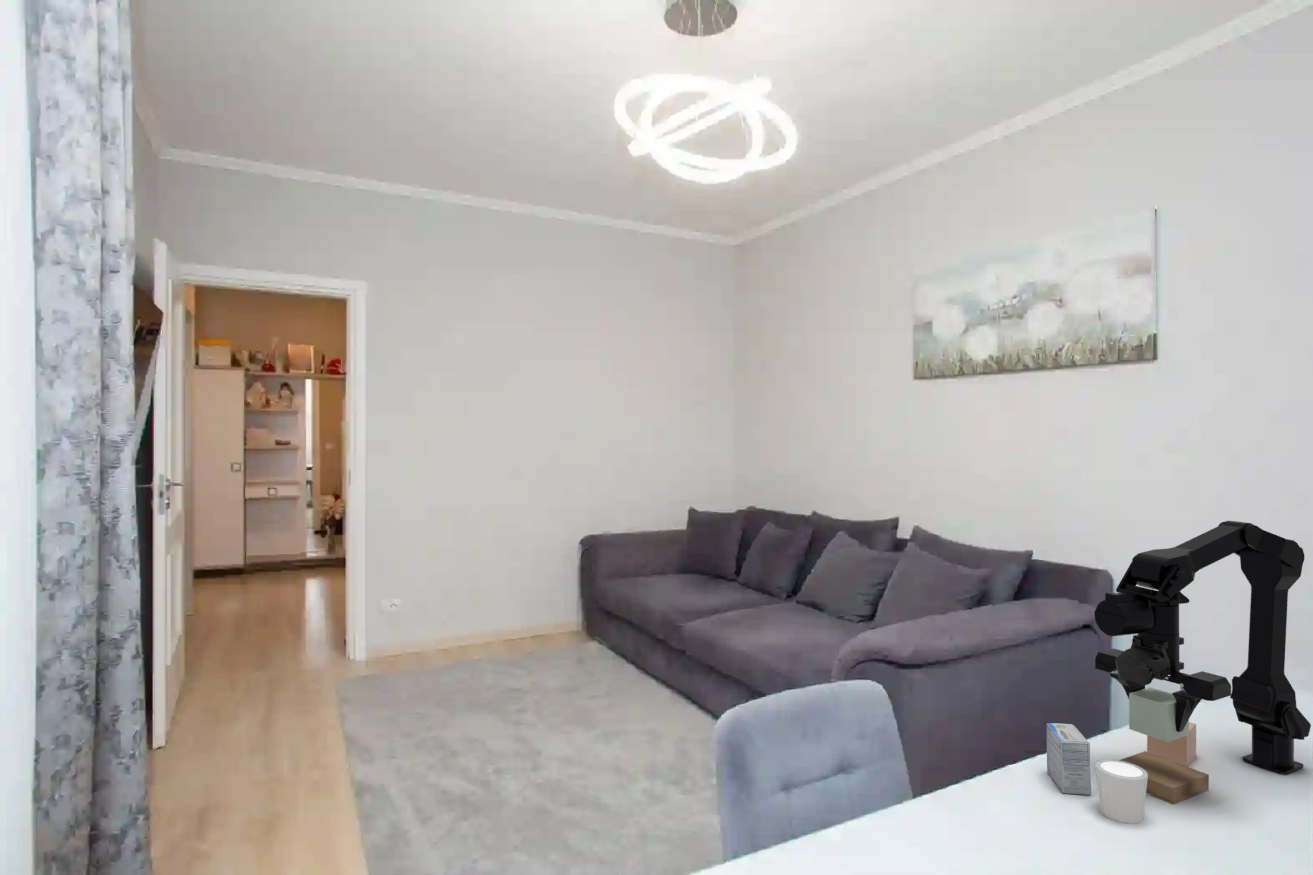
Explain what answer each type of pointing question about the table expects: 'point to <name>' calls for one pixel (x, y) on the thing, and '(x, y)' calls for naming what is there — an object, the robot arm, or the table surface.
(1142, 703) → the sage cube
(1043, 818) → the table surface
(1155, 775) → the walnut block
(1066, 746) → the medicine box
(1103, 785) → the white tapered cylinder
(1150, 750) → the clay cube
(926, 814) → the table surface
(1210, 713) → the table surface
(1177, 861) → the table surface
